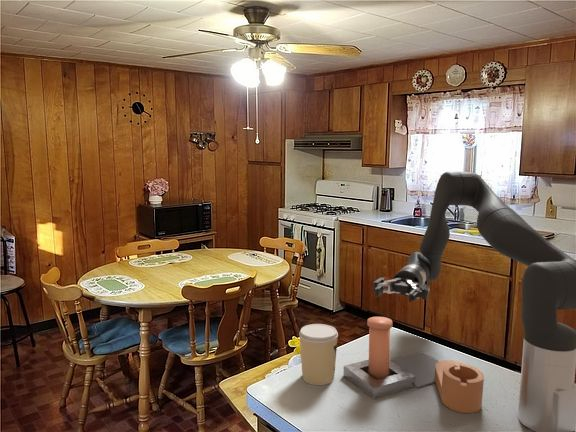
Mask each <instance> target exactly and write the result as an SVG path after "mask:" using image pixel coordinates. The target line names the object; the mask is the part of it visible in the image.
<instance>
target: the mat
mask: <svg viewBox="0 0 576 432" xmlns="http://www.w3.org/2000/svg"><path fill="white" fill-rule="evenodd" d="M389 360H390V361H392V362H393V363H395V364H396V365H398V366H400V367H401V368H403V369H405V370H406V371H408V372H409V373H411V374H413V375H414V376H415V386H414V387H415V388H417V389H420V388H422V387H426V386H430V385H433V384H436V380H435V364H436V363H437V362H439V361H440V360H438V359H436V358H434V357H433V356H430V355H428V354H427V353H425V352H423V351H418V352H415V353H411V354H410V353H409V354H406V355H403V356H399V357H395V358H390V359H389Z"/></svg>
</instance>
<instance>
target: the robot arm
mask: <svg viewBox="0 0 576 432" xmlns="http://www.w3.org/2000/svg"><path fill="white" fill-rule="evenodd" d="M450 206H468V207H471V208H473V209H475V211H477V212H478V213H477V218H476V227H477V230H478V233H479V234H480V236H481V237H482V238H483V239H484V240H485V241H486V242H487V243H488V244H489V246H491V248H493V250H495V251H496V252H497V253H499V254H502V255H503V256H505V257H507V258H509V259H512V260H514V261H516V262H519V263H521V264H523V265H525V266H527V267H526V269H525V270H524V272H523V275H522V276H523V277H522V282H521V283H522V284H521V324H522V328H523V345H522V357H521V368H520V369H521V374H520V383H519V396H518V397H519V399H518V400H519V401H518V414H517V418H518V420H519V422H520V423H521V424H522V425H523V426H524V427H526V428H528V429H529V430H531V431H533V432H575V431H576V383H575V377H576V376H575V375H576V330H575V329H574V328H572V327H571V326H570V325H567V324H565V323H563V322H559V321H558V313H557V311H559V310H562V311H563V310H576V259H574V258H573V257H571V256H570V255H568V254H567V253H565V252H564V251H562V250H561V249H559V248H558V247H557V246H555V245H553V243H551V242H550V241H549V240H548V239H547V238H545V237H544V236H543V235H542V234H540V232H538V231H537V230H536V229H534V228H533V227H532V226H531V225H530V224H529V223H528V222H527V221H526V220H525V219H524V218H523V217H522V216H521V215H520V214H518V213H517V212H516V211H515V210H514V209H512V208H511V207H510V206H508V205H507V204H506V203H505V202H504V200H502V199H501V198H500V197H499V196H498V195H497V194H496V193H495V192H494V191H493V189H492V188H491V187H490V186H489V185H488V184H487V182H486V181H485V180H484V179H483V178H482V177H481V176H480V175H479V174H477V173H476V172H472V171H446V172H445V171H444V173H442V174H441V175H440V177H439V179H438V181H437V184H436V187H435V191H434V196H433V201H432V205H431V210H430V215H429V219H428V220H429V221H428V222H427V223H428V224H427V227H426V230H425V232H424V234H423V236H422V237H423V238H422V239H421V243H420V245H419V251H415V252H413V253H411V254H410V255H409V256H408V259H407V260H406V265H405V266H404V267H402V268H401V269H400V270H399V271H398V272H396V273H395V274H394V276H393V278H392V279H388V280H385V277H382V276H381V277H379V278H377V279H376V280H375V281H372V283H373V286H372V287H373V288H372V291H373V292H374V295H376V296H375V297H379V298H380V297H381V296H382V295H383V294H385V293H387V294H388V295H389V294H398V295H401V296H403V297H408V302H409V303H412V302H413V301H416V300H418V299H419V298H421V300H427V299H428V297H429V295H430V290H431V289H430V287H431V285H430V283H426V282H435V281H436V280H437V279H438V278H439V277H440V274H441V270H442V261H443V260H442V258H443V253H444V251H445V249H446V247H447V245H448V243H449V240H450V237H451V235H450V227H449V224H448V222H447V218H446V212H447V210H448V209H449V207H450Z"/></svg>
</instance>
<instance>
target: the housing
mask: <svg viewBox="0 0 576 432" xmlns="http://www.w3.org/2000/svg"><path fill="white" fill-rule="evenodd" d="M390 360H391V359H389V376H388V377H385V378H381V379H378V380H375V379H374V378H373V377H371V376H370V375H368V368H369V359H367V360H366V359H365V360H362V361H358V362H355V363H350V364H349V363H348V364H346V365H343V377H345V378H348V379H347V380H349V381H350V382H351V383H352V384H354V385H355V386H356V387H358V388H359V389H360V390H362V391H363V392H364V393H365V394H367V395H368V396H369V397H370V398H372V399H376V398H381V397H384V396H387V395H391V394H394V393H398V392H401V391H404V390H407V389H410V388H414V387H415V376H414V375H413V374H411V373H409V372H408V371H406V370H405V369H403V368H401V367H400V366H398V365H396V364H395V363H393V362H392V361H390Z"/></svg>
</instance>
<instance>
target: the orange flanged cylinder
mask: <svg viewBox="0 0 576 432" xmlns="http://www.w3.org/2000/svg"><path fill="white" fill-rule="evenodd" d="M366 324H367V326H368V327H369V330H368V333H369V334H368V360H369V368H368V375H370V376H371V377H373V378H374V379H375V380H378V379H381V378H385V377H388V376H389V360H390V351H391V350H390V349H391V348H390V346H391V345H390V344H391V340H390V339H391V328H393V320H392V319H391V318H388V317H385V316H372V317H369V318H367V322H366Z"/></svg>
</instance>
